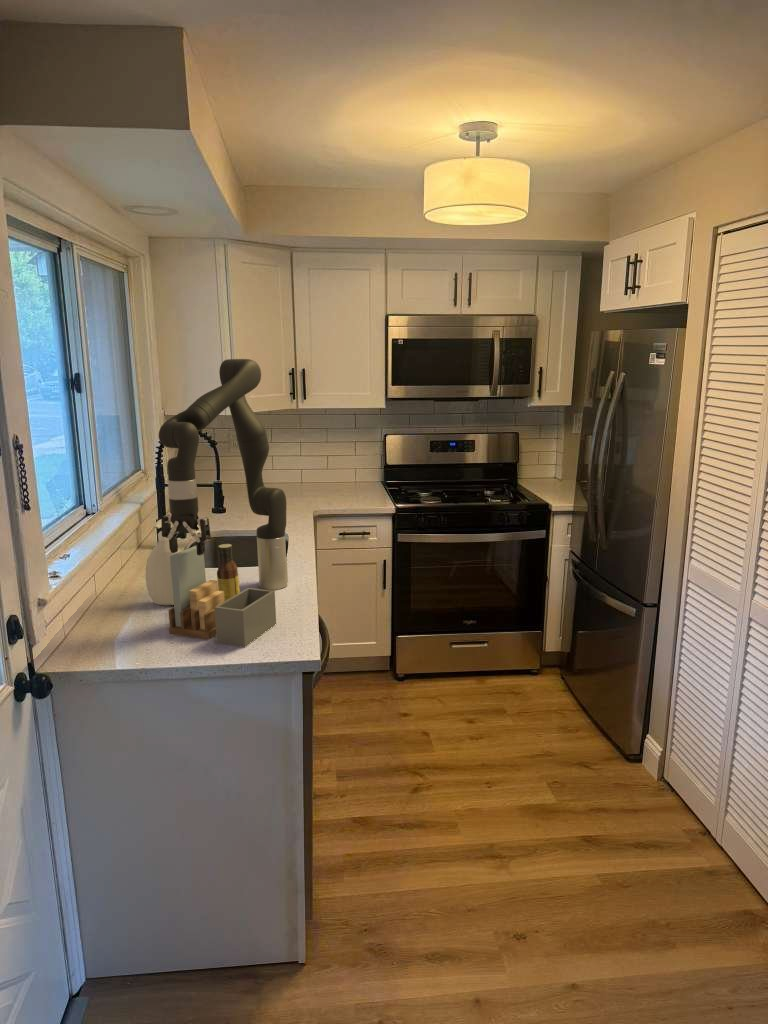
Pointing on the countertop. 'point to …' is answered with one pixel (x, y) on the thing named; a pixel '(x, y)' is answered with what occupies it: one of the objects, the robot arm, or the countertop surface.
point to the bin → (245, 616)
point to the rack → (194, 629)
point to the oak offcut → (201, 594)
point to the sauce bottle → (227, 572)
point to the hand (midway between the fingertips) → (187, 553)
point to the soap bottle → (160, 571)
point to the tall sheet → (186, 578)
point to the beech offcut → (209, 605)
